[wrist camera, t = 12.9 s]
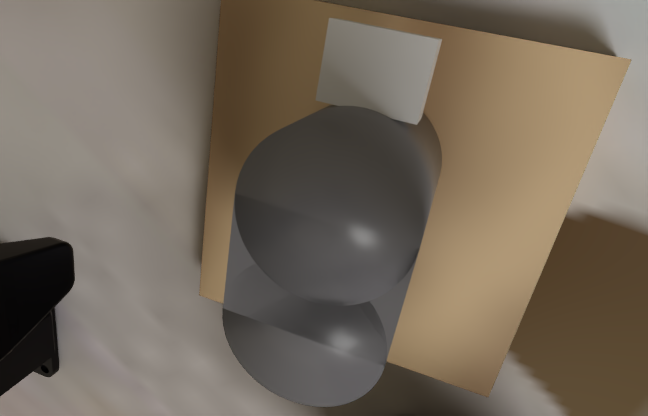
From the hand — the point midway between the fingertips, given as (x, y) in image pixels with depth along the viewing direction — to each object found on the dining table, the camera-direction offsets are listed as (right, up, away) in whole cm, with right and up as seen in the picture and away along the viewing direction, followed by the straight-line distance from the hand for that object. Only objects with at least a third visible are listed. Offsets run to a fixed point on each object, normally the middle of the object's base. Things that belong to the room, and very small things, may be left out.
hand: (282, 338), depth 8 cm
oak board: (+2, +3, +7) cm, 8 cm away
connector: (+2, +2, +6) cm, 7 cm away
